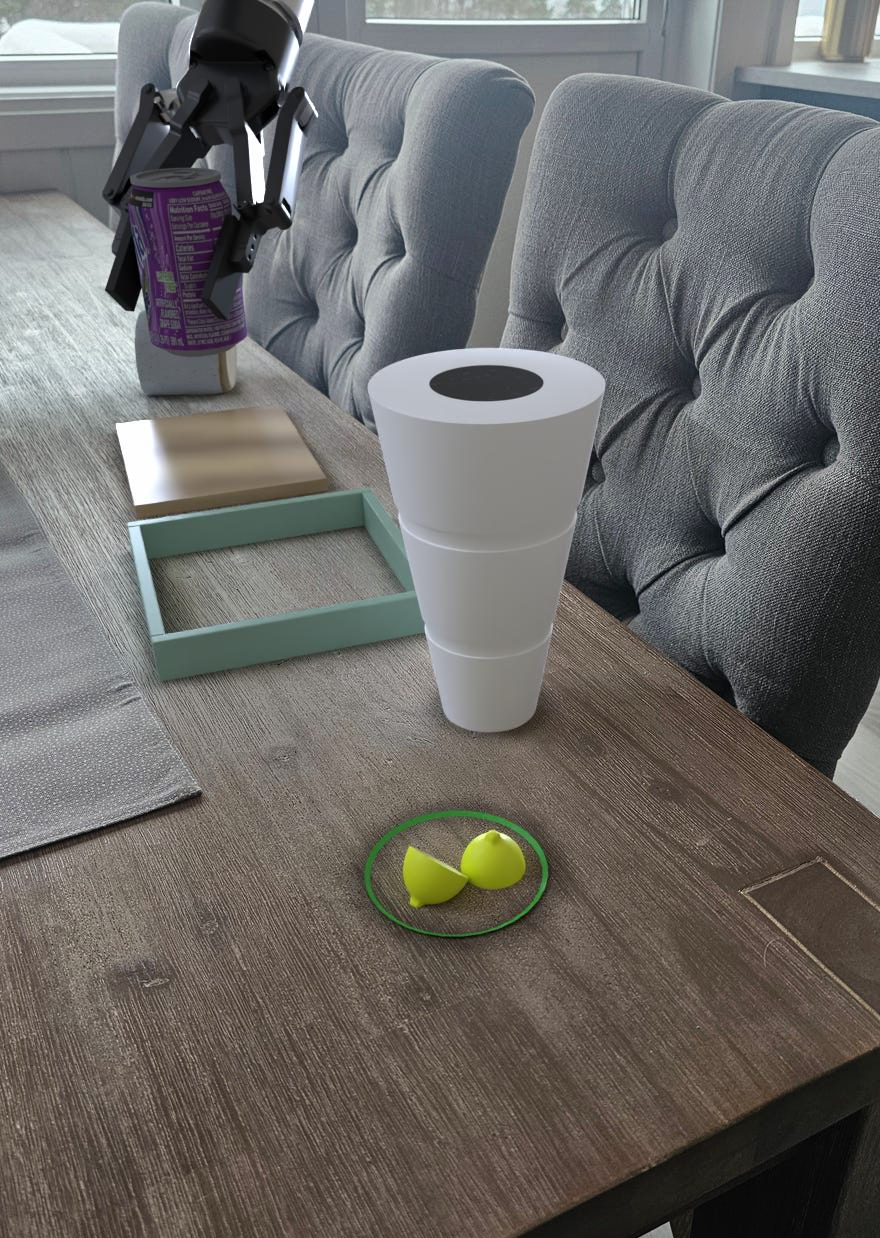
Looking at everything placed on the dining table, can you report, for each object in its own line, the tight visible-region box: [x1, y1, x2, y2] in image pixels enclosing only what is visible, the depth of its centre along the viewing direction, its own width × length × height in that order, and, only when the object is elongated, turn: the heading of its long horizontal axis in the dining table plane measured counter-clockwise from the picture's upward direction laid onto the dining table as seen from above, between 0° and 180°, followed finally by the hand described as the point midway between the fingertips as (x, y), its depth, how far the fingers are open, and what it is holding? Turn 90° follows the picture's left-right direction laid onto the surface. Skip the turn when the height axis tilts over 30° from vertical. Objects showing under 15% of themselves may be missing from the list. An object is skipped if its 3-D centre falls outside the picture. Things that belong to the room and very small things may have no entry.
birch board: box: [114, 403, 329, 520], centre depth 89 cm, size 18×14×2 cm
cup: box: [367, 347, 606, 733], centre depth 55 cm, size 11×11×18 cm
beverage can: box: [128, 167, 248, 357], centre depth 81 cm, size 7×7×12 cm
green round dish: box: [363, 810, 549, 937], centre depth 48 cm, size 8×8×3 cm
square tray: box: [126, 486, 426, 683], centre depth 70 cm, size 17×17×3 cm
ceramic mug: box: [134, 308, 238, 397], centre depth 104 cm, size 11×8×8 cm
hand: (166, 304), depth 79 cm, fingers closed on beverage can, 7 cm apart
